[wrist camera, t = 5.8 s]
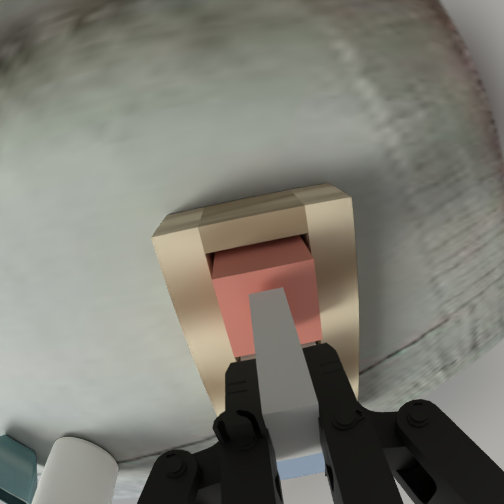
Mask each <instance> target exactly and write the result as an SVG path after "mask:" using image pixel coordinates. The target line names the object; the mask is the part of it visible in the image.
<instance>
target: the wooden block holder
mask: <svg viewBox="0 0 504 504" xmlns="http://www.w3.org/2000/svg"><path fill="white" fill-rule="evenodd" d="M295 235H300V237H301V238H302V240H303V242H304V243H305V245H306V247H307V248H308V250H309V252H310V253H311V255H312V257H313V258H314V265H315V273H316V282H317V291H318V300H319V309H320V319H321V330H322V340H318V341H315V343H316V345H318V344H322V343H326V342H327V343H328V344H329V345H330V346H332V347H333V348H334V349H335V350H336V351H337V354H338V356H339V358H340V362H341V363H342V365H343V368H344V370H345V373H346V375H347V377H348V380H349V382H350V384H351V387H352V389H353V392H354V394H355V396H356V399H357V401H358V384H359V301H358V276H357V258H356V243H355V230H354V219H353V208H352V198H351V197H350V196H349V195H347V194H346V193H344V192H343V191H341V190H339V189H338V188H336V187H334V186H333V185H331V184H330V183H325V184H319V185H314V186H308V187H302V188H297V189H291V190H286V191H281V192H275V193H270V194H265V195H260V196H255V197H250V198H245V199H240V200H235V201H230V202H226V203H221V204H216V205H212V206H207V207H203V208H198V209H194V210H189V211H185V212H180V213H176V214H172V215H167V216H166V217H165V218H164V220H163V221H162V223H161V224H160V226H159V227H158V228H157V230H156V231H155V233H154V234H153V236H152V237H151V238H152V241H153V245H154V248H155V251H156V254H157V258H158V261H159V264H160V267H161V270H162V273H163V276H164V279H165V282H166V285H167V288H168V291H169V294H170V297H171V300H172V302H173V305H174V308H175V311H176V314H177V317H178V319H179V322H180V325H181V327H182V330H183V333H184V336H185V338H186V341H187V343H188V346H189V349H190V351H191V354H192V356H193V359H194V361H195V364H196V366H197V369H198V371H199V374H200V376H201V379H202V381H203V384H204V386H205V388H206V391H207V393H208V395H209V398H210V400H211V402H212V405H213V407H214V409H215V412H216V414H217V416H219V414H221V413H222V412H224V411H225V372H226V370H227V369H228V367H229V365H230V363H232V362H238V361H241V358H240V356H239V357H234V355H233V351H232V348H231V345H230V341H229V338H228V335H227V331H226V328H225V324H224V321H223V318H222V314H221V311H220V307H219V304H218V300H217V296H216V293H215V289H214V286H213V282H212V273H213V265H214V256H215V252H216V251H221V250H226V249H230V248H235V247H240V246H245V245H250V244H255V243H260V242H265V241H270V240H275V239H280V238H285V237H290V236H295Z"/></svg>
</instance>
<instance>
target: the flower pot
mask: <svg viewBox="0 0 504 504" xmlns="http://www.w3.org/2000/svg"><path fill="white" fill-rule="evenodd" d="M36 489H37V462H36V455H35V452H34V451H33V450H31V449H29V448H27V447H25V446H24V445H22V444H20V443H18V442H17V441H15V440H13V439H11V438H10V437H8V436H6V435H2V436H0V500H1V501H3V502H5V503H6V504H32V501H33V498H34V495H35V492H36Z"/></svg>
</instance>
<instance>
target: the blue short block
mask: <svg viewBox="0 0 504 504" xmlns="http://www.w3.org/2000/svg"><path fill="white" fill-rule="evenodd" d="M277 470H278V473H279V476H280V480H285V479H290V478H296V477H301V476H306V475H311V474H315V473H320V472H324V471H325V460H324V456H323V452H322V453H317V454H313V455H308V456H304V457H299V458H294V459H288V460H283V461H277Z"/></svg>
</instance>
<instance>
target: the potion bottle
mask: <svg viewBox="0 0 504 504" xmlns="http://www.w3.org/2000/svg"><path fill="white" fill-rule="evenodd" d="M118 470H119V467H118V465H117V463H116V461H115V459H114V458H113V457H112V456H111V455H110V454H109V453H108V452H106V451H105V450H103V449H102V448H101V447H99V446H97V445H95V444H93V443H91V442H89V441H86V440H83V439H79V438H75V437H62V438H59V439H57V440H56V441H55V443H54V444H53V447H52V449H51V452H50V454H49V457H48V459H47V462H46V465H45V467H44V470H43V473H42V475H41V478H40V481H39V483H38V486H37V489H36V492H35V495H34V498H33V501H32V504H111V503H112V498H113V493H114V489H115V484H116V480H117V475H118Z"/></svg>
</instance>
